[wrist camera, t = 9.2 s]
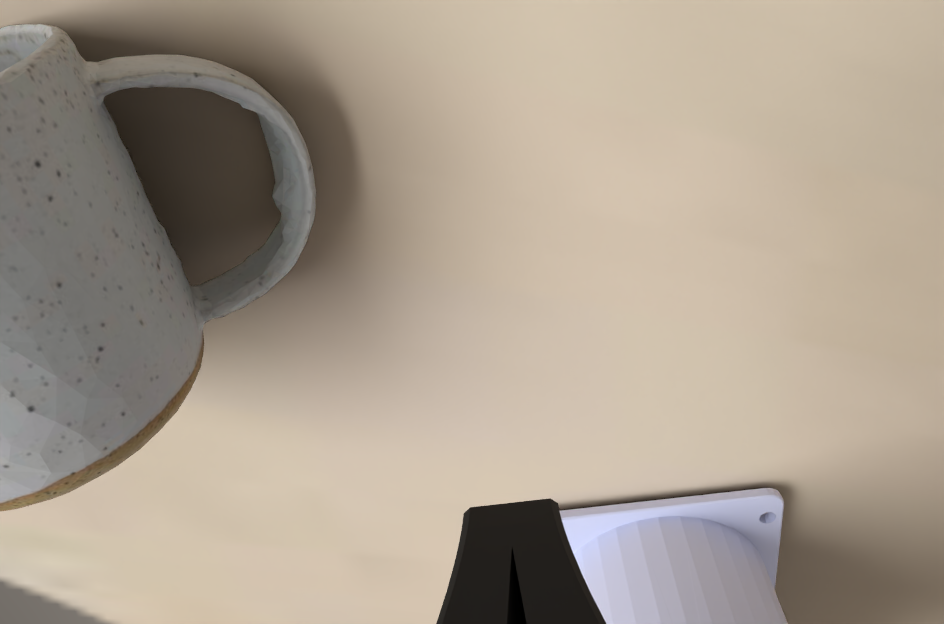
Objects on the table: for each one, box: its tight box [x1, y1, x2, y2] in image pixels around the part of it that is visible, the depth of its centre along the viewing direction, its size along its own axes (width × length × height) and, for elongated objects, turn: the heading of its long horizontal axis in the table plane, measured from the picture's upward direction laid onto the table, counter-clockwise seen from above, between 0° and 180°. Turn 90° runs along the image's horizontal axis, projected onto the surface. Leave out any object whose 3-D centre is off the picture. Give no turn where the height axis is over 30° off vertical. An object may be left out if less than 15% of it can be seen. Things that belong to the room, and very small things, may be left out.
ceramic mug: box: [0, 24, 316, 511], centre depth 16 cm, size 11×8×8 cm
